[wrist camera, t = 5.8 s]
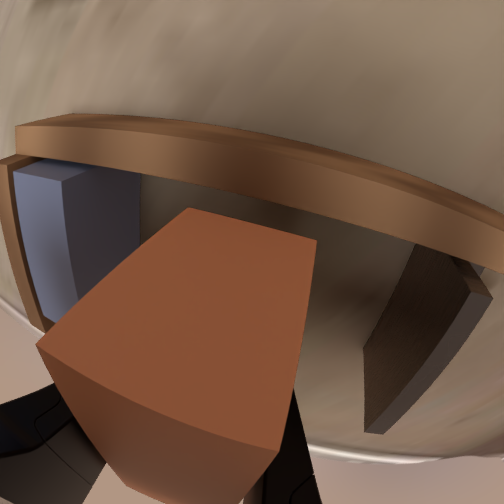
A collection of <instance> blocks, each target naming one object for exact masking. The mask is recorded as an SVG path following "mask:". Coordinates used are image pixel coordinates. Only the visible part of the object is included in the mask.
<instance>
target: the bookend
mask: <svg viewBox="0 0 504 504" xmlns="http://www.w3.org/2000/svg"><path fill="white" fill-rule="evenodd" d="M484 268H485V267H483V266H480V265H478V264H475V263H472V262H469V261H466V260H464V259H461V258H458V257H455V256H452V255H449V254H447V253H444V252H441V251H438V250H435V249H432V248H429V247H426V246H423V245H420V244H417V243H416V245H415V247H414V250H413V252H412V254H411V256H410V259H409V261H408V263H407V265H406V268H405V270H404V272H403V274H402V276H401V278H400V281H399V283H398V285H397V287H396V289H395V291H394V293H393V295H392V297H391V299H390V301H389V303H388V305H387V307H386V309H385V311H384V312H383V314H382V316H381V318H380V320H379V322H378V324H377V325H376V327H375V329H374V331H373V333H372V334H371V336H370V338H369V340H368V342H367V343H366V345H365V347H364V348H363V354H364V391H365V412H364V432H367V433H375V434H384V433H385V432H386V431H387V430H388V429H390V428H391V427H392V426H393V425H394V424H395V423H396V422H397V421H398V420H399V419H400V418H401V417H402V416H403V415H404V414H405V413H406V412H407V411H408V410H409V409H410V408H411V407H412V405H413V404H414V403H415V402H416V401H417V400H418V399H419V398H420V397H421V396H422V395H423V393H424V392H425V391H426V390H427V389H428V388H429V387H430V386H431V384H432V383H433V382H434V381H435V380H436V378H437V377H438V376H439V375H440V374H441V372H442V371H443V370H444V369H445V367H446V366H447V365H448V364H449V362H450V361H451V360H452V359H453V357H454V356H455V355H456V353H457V352H458V351H459V349H460V348H461V347H462V345H463V344H464V342H465V341H466V340H467V338H468V337H469V335H470V334H471V332H472V331H473V329H474V328H475V326H476V325H477V323H478V322H479V320H480V319H481V317H482V316H483V314H484V313H485V311H486V309H487V308H488V306H489V304H490V303H491V301H492V299H493V298H492V296H491V294H490V293H489V291H488V289H487V288H486V286H485V285H484V283H483V282H482V280H481V279H480V275H481V273H482V271H483V269H484Z"/></svg>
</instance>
